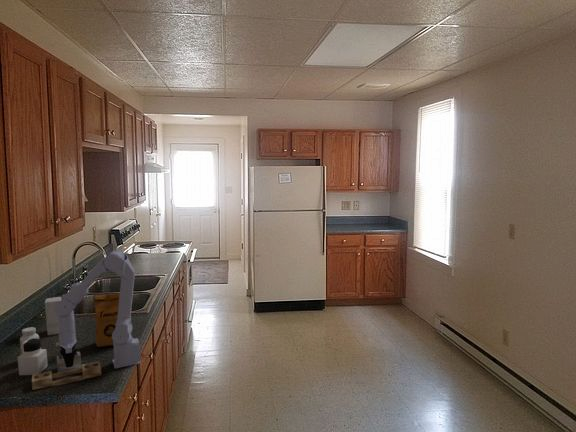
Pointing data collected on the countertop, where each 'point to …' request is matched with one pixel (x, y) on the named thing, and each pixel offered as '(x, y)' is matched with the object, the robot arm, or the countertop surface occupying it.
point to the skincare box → (51, 315)
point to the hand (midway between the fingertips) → (69, 364)
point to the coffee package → (106, 318)
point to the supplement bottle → (28, 335)
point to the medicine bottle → (32, 358)
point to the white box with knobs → (63, 367)
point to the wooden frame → (46, 377)
